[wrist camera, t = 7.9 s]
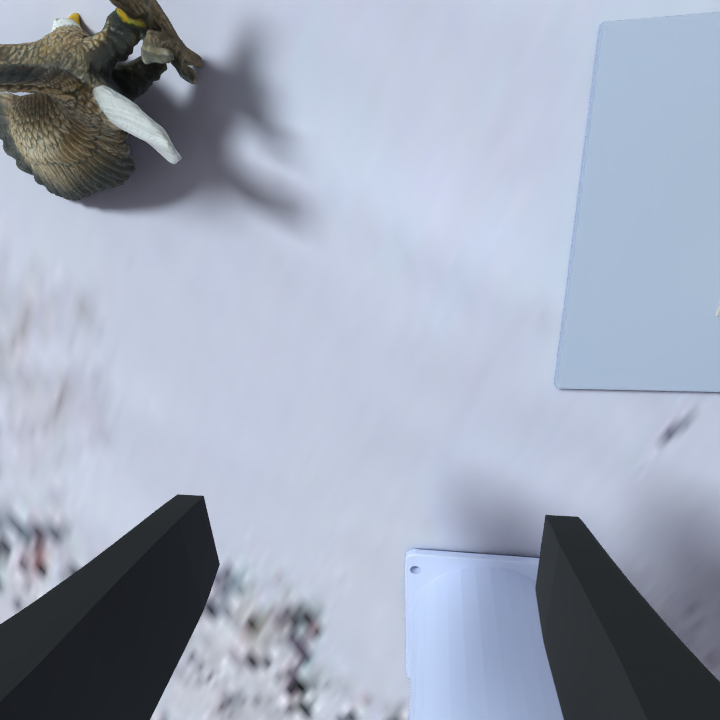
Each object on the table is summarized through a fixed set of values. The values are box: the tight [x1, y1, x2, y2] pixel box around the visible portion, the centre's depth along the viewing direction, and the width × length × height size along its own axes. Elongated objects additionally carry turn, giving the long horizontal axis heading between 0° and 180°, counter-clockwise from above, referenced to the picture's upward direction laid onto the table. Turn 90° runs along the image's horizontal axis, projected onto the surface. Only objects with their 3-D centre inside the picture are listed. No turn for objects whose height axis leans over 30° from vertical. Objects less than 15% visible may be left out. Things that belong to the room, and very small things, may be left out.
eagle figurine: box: [0, 0, 203, 200], centre depth 15 cm, size 8×7×9 cm
